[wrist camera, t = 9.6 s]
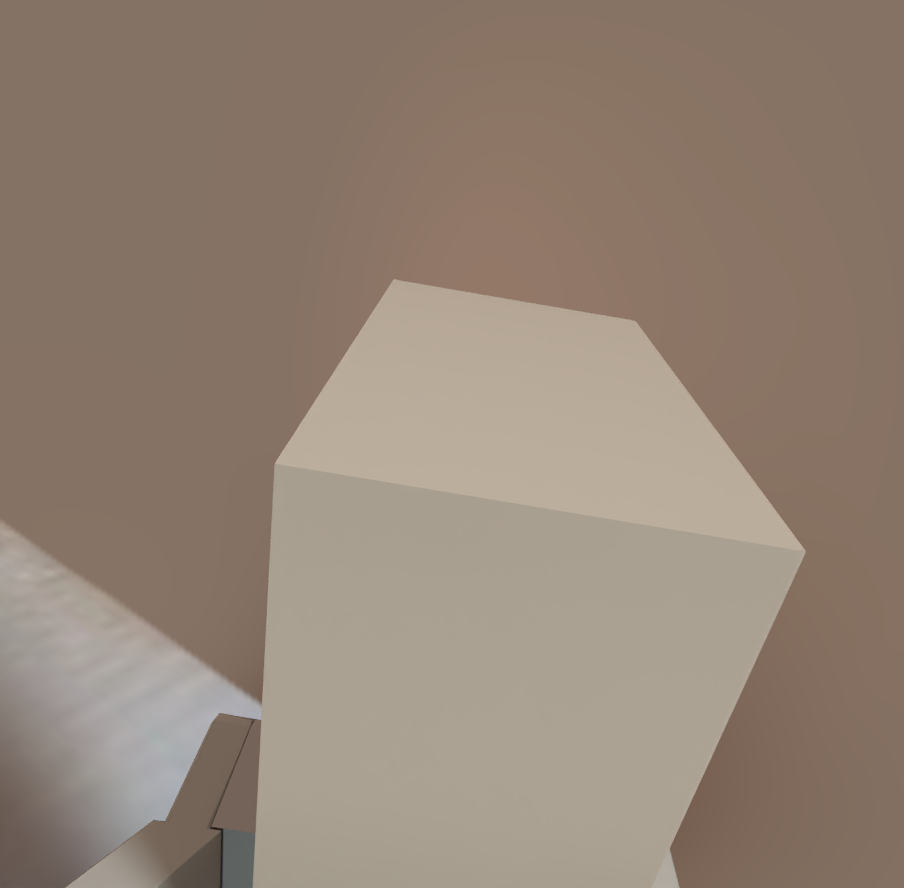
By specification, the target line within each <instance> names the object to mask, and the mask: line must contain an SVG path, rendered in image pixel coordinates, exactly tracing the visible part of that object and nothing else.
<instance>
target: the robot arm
mask: <svg viewBox="0 0 904 888" xmlns="http://www.w3.org/2000/svg"><path fill="white" fill-rule="evenodd" d="M260 738H261V720H258V719H251V718H245V717H239V716H233V715H228V714H222V713H219V715H218V716H217V717H216V718H215V719H214V721H213V722H212V723H211V725H210V727H209V730H208V732H207V734H206V736H205V738H204V740H203V742H202V744H201V746H200V749H199V751H198V753H197V755H196V757H195V759H194V761H193V763H192V766H191V768H190V770H189V772H188V774H187V776H186V778H185V780H184V783H183V785H182V787H181V789H180V791H179V793H178V795H177V797H176V799H175V802H174V804H173V806H172V808H171V810H170V812H169V814H168V816H167V819H166V821H157V820H153V821H152V822H151V823H149V824H148V825H147V826H145V827H144V828H143V829H141V830H140V831H139V832H137V833H136V834H135V835H133V836H132V837H131V838H129V839H128V840H127V841H125V842H124V843H123V844H121V845H120V846H119V847H118V848H116V849H115V850H114V851H112V852H111V853H110V854H108V855H107V856H106V857H104V858H103V859H102V860H100V861H99V862H98V863H96V864H95V865H94V866H92V867H91V868H90V869H89V870H87V871H86V872H85V873H83V874H82V875H81V876H79V877H78V878H77V879H75V880H74V881H73V882H71V883H70V884H69V885H67V886H66V887H65V888H253V872H254V852H255V833H256V814H257V795H258V776H259V757H260ZM651 888H679V884H678V880H677V876H676V872H675V868H674V864H673V860H672V856H671V852H670V848H669V850H668V853H667V855H666V857H665V859H664V861H663V863H662V866H661V868H660V870H659V872H658V874H657V877H656V879H655V881H654V883H653V885H652V887H651Z"/></svg>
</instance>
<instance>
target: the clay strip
mask: <svg viewBox="0 0 904 888" xmlns="http://www.w3.org/2000/svg"><path fill="white" fill-rule="evenodd" d="M805 552H806V551H805V550H804V548H803V547H802V546H801V545H800V543H799V542H798V541H797V539H796V538H795V536H794V535H793V533H792V532H791V531H790V530H789V528H788V527H787V525H786V524H785V523H784V521H783V520H782V519H781V517H780V516H779V515H778V514H777V512H776V511H775V509H774V508H773V506H772V505H771V504H770V503H769V501H768V500H767V498H766V497H765V496H764V494H763V493H762V492H761V490H760V489H759V488H758V486H757V485H756V483H755V482H754V481H753V480H752V478H751V477H750V475H749V474H748V473H747V471H746V470H745V469H744V468H743V466H742V465H741V463H740V462H739V460H738V459H737V458H736V457H735V455H734V454H733V452H732V451H731V450H730V448H729V447H728V446H727V444H726V443H725V442H724V440H723V439H722V438H721V436H720V435H719V433H718V432H717V431H716V430H715V428H714V427H713V425H712V424H711V423H710V421H709V420H708V419H707V417H706V416H705V415H704V413H703V412H702V410H701V409H700V408H699V407H698V405H697V404H696V402H695V401H694V400H693V398H692V397H691V396H690V394H689V393H688V392H687V390H686V389H685V388H684V386H683V385H682V383H681V382H680V381H679V379H678V378H677V377H676V375H675V374H674V373H673V371H672V370H671V369H670V367H669V366H668V365H667V363H666V362H665V360H664V359H663V358H662V356H661V355H660V354H659V352H658V351H657V350H656V348H655V347H654V346H653V344H652V343H651V342H650V340H649V339H648V338H647V336H646V335H645V334H644V332H643V331H642V329H641V328H640V327H639V325H638V324H637V323H636V321H633V320H627V319H620V318H615V317H609V316H603V315H598V314H592V313H586V312H580V311H574V310H568V309H562V308H557V307H551V306H545V305H539V304H533V303H528V302H522V301H516V300H510V299H504V298H498V297H492V296H487V295H481V294H475V293H469V292H463V291H458V290H452V289H446V288H440V287H434V286H428V285H423V284H417V283H411V282H405V281H399V280H393V281H392V283H391V285H390V286H389V288H388V289H387V291H386V292H385V294H384V295H383V297H382V299H381V300H380V302H379V303H378V305H377V306H376V308H375V309H374V311H373V313H372V314H371V316H370V317H369V319H368V320H367V322H366V323H365V325H364V326H363V328H362V329H361V331H360V333H359V334H358V336H357V337H356V339H355V340H354V342H353V343H352V345H351V347H350V348H349V350H348V351H347V353H346V354H345V356H344V357H343V359H342V361H341V362H340V363H339V365H338V367H337V368H336V370H335V371H334V373H333V374H332V376H331V377H330V379H329V381H328V382H327V384H326V385H325V387H324V388H323V390H322V391H321V393H320V394H319V396H318V397H317V399H316V401H315V402H314V404H313V405H312V407H311V408H310V410H309V412H308V413H307V415H306V416H305V418H304V419H303V421H302V422H301V424H300V425H299V427H298V429H297V430H296V432H295V433H294V435H293V436H292V438H291V439H290V441H289V443H288V444H287V446H286V447H285V449H284V450H283V452H282V453H281V455H280V457H279V458H278V460H277V461H276V462H275V469H274V489H273V508H272V527H271V547H270V566H269V585H268V605H267V623H266V624H267V625H266V642H265V662H264V681H263V699H262V718H261V738H260V757H259V776H258V795H257V814H256V833H255V852H254V872H253V888H651V887H652V885H653V883H654V881H655V879H656V877H657V874H658V872H659V870H660V868H661V866H662V863H663V861H664V859H665V857H666V855H667V853H668V850H669V848H670V846H671V844H672V842H673V839H674V837H675V835H676V833H677V831H678V829H679V826H680V824H681V822H682V820H683V818H684V815H685V813H686V811H687V809H688V807H689V805H690V803H691V800H692V798H693V796H694V794H695V792H696V790H697V787H698V785H699V783H700V781H701V779H702V776H703V774H704V772H705V770H706V768H707V766H708V763H709V761H710V759H711V757H712V755H713V753H714V750H715V748H716V746H717V744H718V741H719V739H720V737H721V735H722V733H723V730H724V728H725V726H726V724H727V722H728V720H729V718H730V716H731V713H732V711H733V709H734V707H735V705H736V702H737V700H738V698H739V696H740V694H741V692H742V689H743V687H744V685H745V683H746V681H747V679H748V676H749V674H750V672H751V670H752V668H753V666H754V663H755V661H756V659H757V657H758V655H759V652H760V650H761V648H762V646H763V644H764V641H765V639H766V637H767V635H768V633H769V631H770V628H771V626H772V624H773V622H774V620H775V618H776V615H777V613H778V611H779V609H780V607H781V605H782V602H783V600H784V598H785V596H786V593H787V592H788V589H789V587H790V585H791V583H792V581H793V578H794V576H795V574H796V572H797V570H798V568H799V565H800V563H801V561H802V559H803V557H804V555H805Z"/></svg>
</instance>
